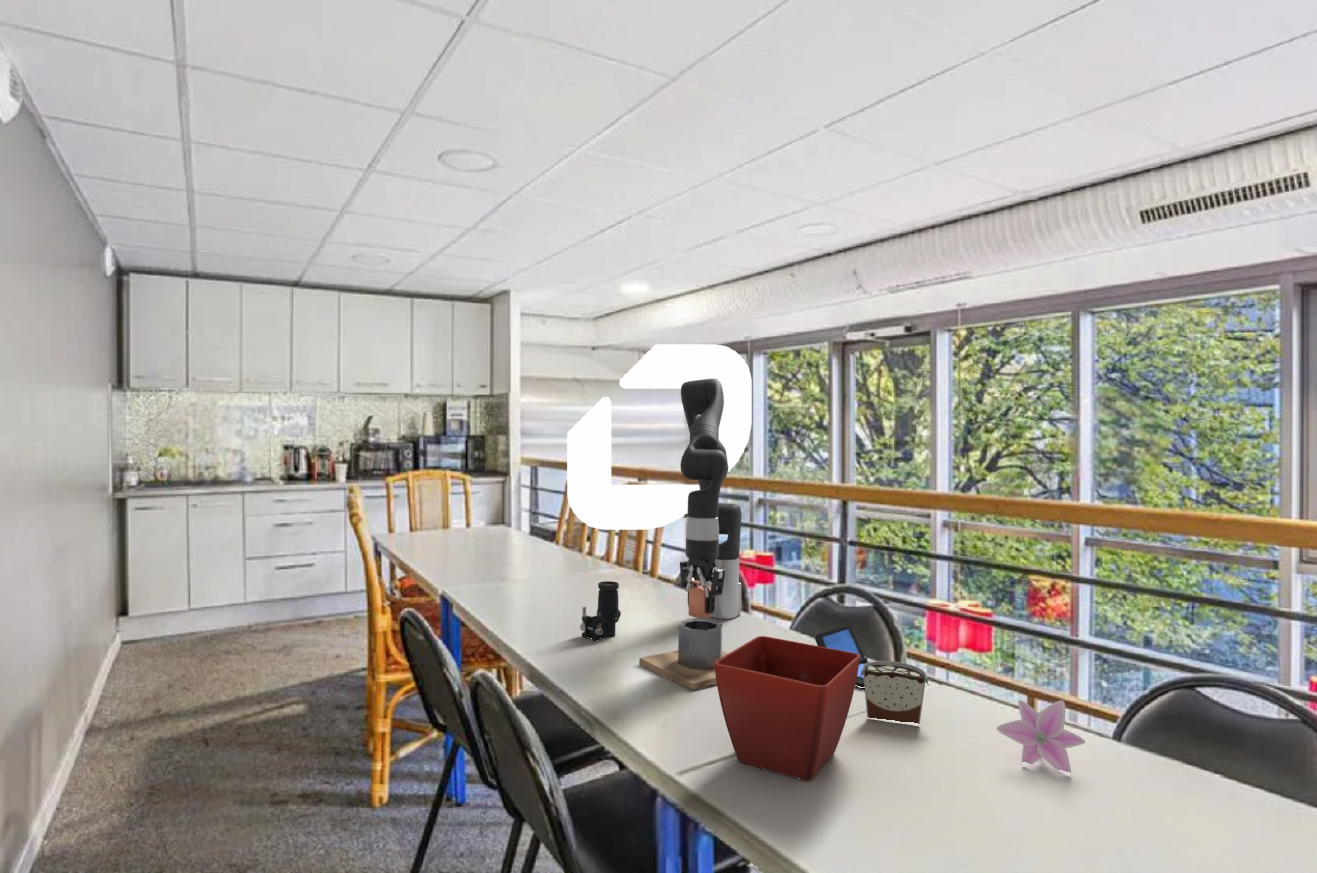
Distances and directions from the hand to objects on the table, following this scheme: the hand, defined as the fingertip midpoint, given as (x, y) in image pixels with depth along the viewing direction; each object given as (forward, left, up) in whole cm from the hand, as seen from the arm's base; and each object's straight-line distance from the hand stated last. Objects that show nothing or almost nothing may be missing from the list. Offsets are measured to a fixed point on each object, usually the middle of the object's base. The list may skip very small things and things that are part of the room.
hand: (700, 610), depth 165 cm
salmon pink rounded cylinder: (0, 0, -1) cm, 1 cm away
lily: (-19, +68, -14) cm, 72 cm away
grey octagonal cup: (0, 0, -12) cm, 12 cm away
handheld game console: (-28, +22, -14) cm, 38 cm away
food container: (-14, +42, -14) cm, 46 cm away
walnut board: (0, 0, -13) cm, 13 cm away
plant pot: (+16, +43, -14) cm, 48 cm away
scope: (+5, -34, -14) cm, 37 cm away
